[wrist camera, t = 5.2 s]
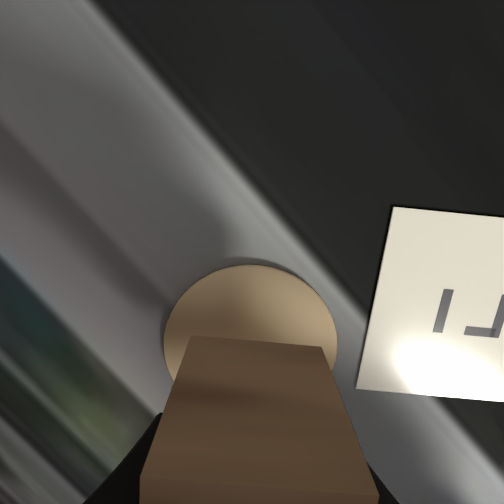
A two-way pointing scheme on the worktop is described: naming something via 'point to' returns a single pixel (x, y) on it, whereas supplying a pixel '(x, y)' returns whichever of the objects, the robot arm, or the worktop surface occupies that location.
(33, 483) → the worktop surface
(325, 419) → the walnut block
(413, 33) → the worktop surface
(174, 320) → the cork coaster
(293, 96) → the worktop surface
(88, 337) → the worktop surface
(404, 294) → the tile
